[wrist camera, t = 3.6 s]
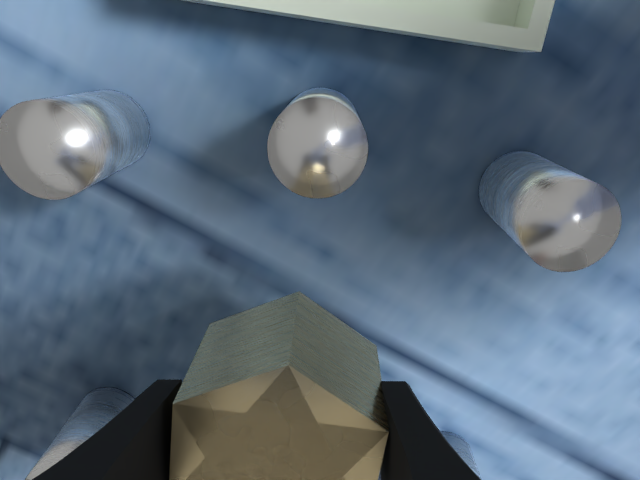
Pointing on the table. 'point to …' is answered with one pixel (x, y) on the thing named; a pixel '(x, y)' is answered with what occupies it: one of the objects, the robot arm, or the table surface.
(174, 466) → the wooden polyhedron
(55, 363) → the table surface
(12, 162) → the spacer field
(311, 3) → the parts tray
